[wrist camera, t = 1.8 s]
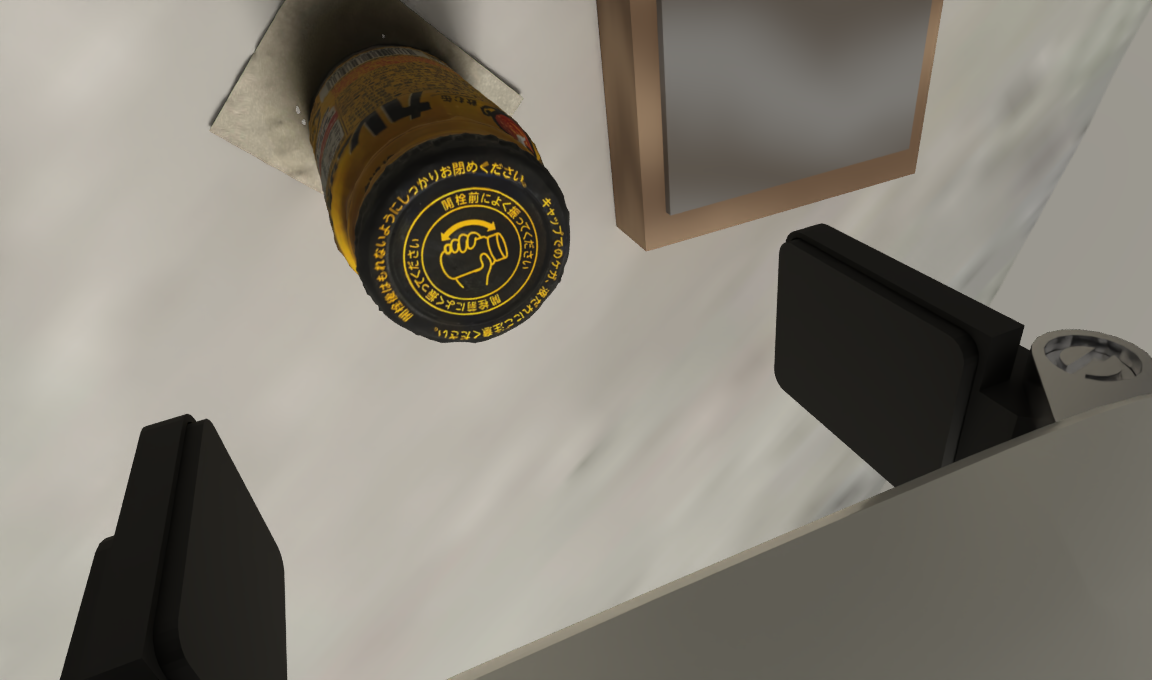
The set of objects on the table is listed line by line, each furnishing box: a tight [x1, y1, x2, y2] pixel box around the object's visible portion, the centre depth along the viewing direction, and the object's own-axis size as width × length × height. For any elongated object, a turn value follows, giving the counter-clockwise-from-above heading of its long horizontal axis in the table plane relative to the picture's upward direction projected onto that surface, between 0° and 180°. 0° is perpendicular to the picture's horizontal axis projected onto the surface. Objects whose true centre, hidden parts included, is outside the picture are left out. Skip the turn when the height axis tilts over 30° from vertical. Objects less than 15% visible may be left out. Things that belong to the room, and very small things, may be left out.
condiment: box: [209, 0, 570, 343], centre depth 20 cm, size 7×8×12 cm
